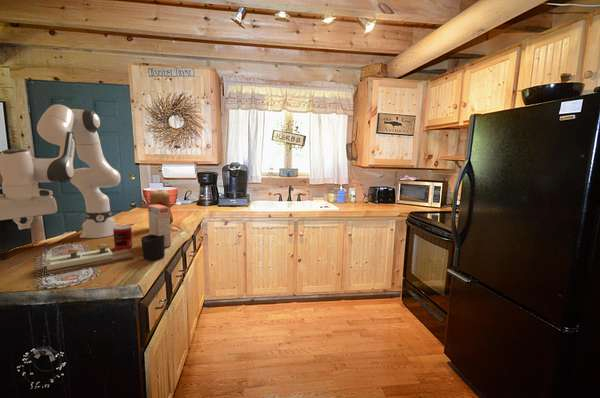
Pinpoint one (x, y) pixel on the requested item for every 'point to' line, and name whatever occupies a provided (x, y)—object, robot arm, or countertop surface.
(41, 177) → the robot arm
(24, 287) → the countertop surface
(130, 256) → the board
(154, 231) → the cracker box
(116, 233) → the canned food
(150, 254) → the pen holder
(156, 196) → the butternut squash
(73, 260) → the panel
